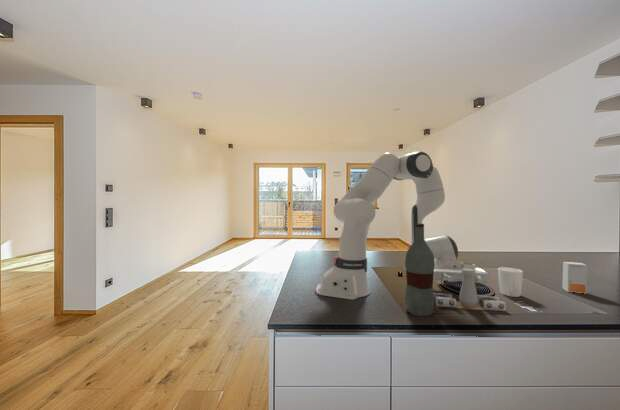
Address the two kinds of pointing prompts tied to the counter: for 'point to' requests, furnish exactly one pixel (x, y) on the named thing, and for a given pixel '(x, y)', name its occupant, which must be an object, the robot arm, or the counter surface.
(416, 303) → the bottle
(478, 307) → the pad
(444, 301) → the chain end
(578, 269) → the skincare box
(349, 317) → the counter surface
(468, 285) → the salt shaker
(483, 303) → the chain end
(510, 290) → the white cup
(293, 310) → the counter surface
